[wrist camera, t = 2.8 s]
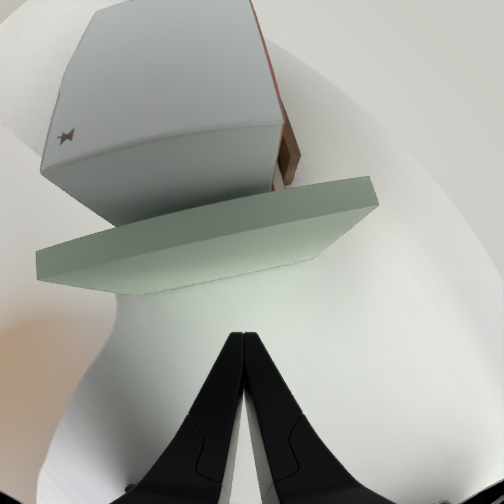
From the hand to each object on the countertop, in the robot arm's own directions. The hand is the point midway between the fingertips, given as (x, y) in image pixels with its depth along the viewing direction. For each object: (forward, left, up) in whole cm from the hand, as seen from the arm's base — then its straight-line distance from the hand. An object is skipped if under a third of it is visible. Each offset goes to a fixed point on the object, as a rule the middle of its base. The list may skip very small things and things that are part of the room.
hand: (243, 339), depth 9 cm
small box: (-1, +9, -9) cm, 12 cm away
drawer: (-1, +9, -8) cm, 12 cm away
